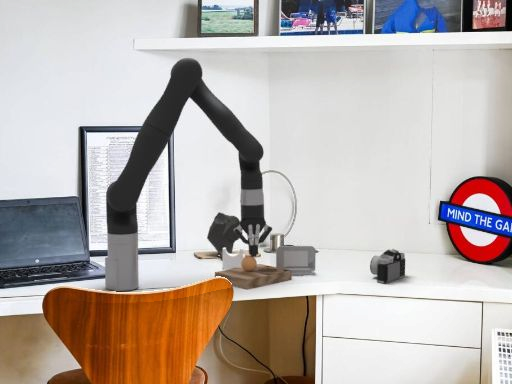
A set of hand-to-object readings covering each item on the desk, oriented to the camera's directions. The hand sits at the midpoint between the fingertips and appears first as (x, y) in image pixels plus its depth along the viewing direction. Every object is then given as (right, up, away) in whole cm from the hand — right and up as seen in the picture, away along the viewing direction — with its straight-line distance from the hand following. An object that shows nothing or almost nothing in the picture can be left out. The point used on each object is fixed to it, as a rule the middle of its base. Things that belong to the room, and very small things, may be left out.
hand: (253, 256), depth 216 cm
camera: (+44, -8, +4) cm, 45 cm away
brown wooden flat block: (0, -8, 0) cm, 8 cm away
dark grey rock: (-11, -5, +39) cm, 40 cm away
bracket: (-7, -6, +24) cm, 26 cm away
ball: (-1, -2, 0) cm, 3 cm away
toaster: (+14, -7, +12) cm, 20 cm away
